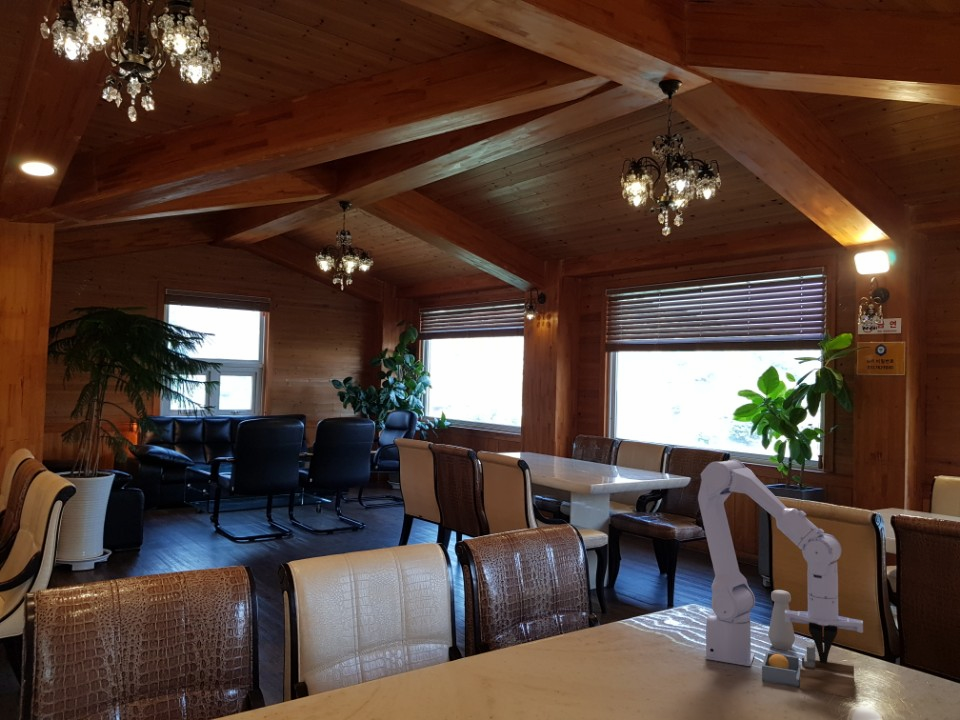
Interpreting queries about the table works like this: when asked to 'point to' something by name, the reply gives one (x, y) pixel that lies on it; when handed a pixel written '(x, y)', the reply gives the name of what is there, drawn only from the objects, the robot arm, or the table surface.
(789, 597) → the salt shaker
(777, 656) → the ball
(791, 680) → the blue-grey open tray
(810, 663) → the grey stepped block
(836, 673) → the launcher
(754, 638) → the table surface
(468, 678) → the table surface
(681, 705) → the table surface
